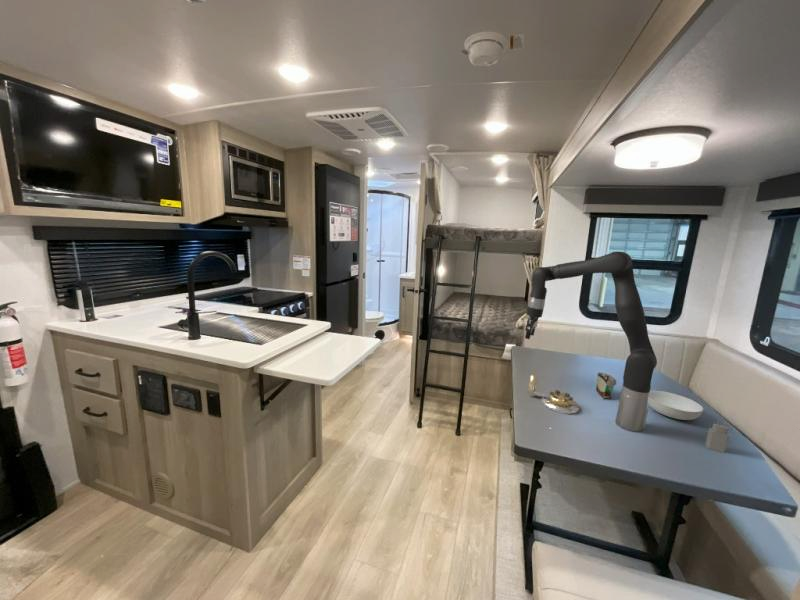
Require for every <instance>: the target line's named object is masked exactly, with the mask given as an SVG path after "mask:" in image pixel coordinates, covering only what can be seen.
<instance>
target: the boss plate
mask: <svg viewBox="0 0 800 600" xmlns="http://www.w3.org/2000/svg"><path fill="white" fill-rule="evenodd" d="M541 404H542V405H543V406H544V407H545V408H547V409H548V410H550V411H553V412H555V413H558V414H561V415H562V414H563V415H577V414H578V413H579V411H580V405H579V404H578V402H577V401H575V400H573V404H572V406H571V407H561V406H557V405H555V404H553V403H551V402H550V401H549V398H547V397H544V396H541Z"/></svg>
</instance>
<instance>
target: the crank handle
mask: <svg viewBox="0 0 800 600" xmlns="http://www.w3.org/2000/svg"><path fill="white" fill-rule="evenodd" d="M538 376H539V375H537V374H533V373H531V374H530V375H529V383H528V389H527V393H528V394H529V395H537V396H541V397H542V396H544V397H547V398H549V401H550V402H551V403H553V404H555V405H557V406H561V407H571V406H572V404H573V401H574V397H572V396H571V394H570V393H569V392H561V391H560V390H557V389H556V390H555V391H550V393H548V392H545V391H544V392H543V391H541V390H537V382H538Z"/></svg>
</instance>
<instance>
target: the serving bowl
mask: <svg viewBox="0 0 800 600" xmlns="http://www.w3.org/2000/svg"><path fill="white" fill-rule="evenodd" d="M647 406H649V407H650V408H651V409H652V410H654V411H656V412H657V413H659V414H661V415H664V416H665V417H668V418H671V419H677V420H683V421H690V420H695V419H698V418H699V417H701V416H702V414H703V412H704V407H703V406H702V404H699V403H698V402H696V401H694V400H693V399H690V398H688V397H685V396H683V395H679V394H676V393H673V392H668V391H662V390H650V393H649V397H648V402H647Z"/></svg>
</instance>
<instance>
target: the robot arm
mask: <svg viewBox="0 0 800 600" xmlns="http://www.w3.org/2000/svg"><path fill="white" fill-rule="evenodd" d="M591 274H592V275H593V274H611V276H612V280H613V285H614V289H615V290H614V307H615V310H616V311H615V312H616V315H617V319H618V322H619V325H620V327H621V329H622V330H623V332H624V334H625V336H626V337H627V342H628V346H629V353H630V354H629V355H628V356H627V358H626V362H625V365H624V370H623V375H622V377H623V379H622V386H621V387H622V388H621V392H620V398H619V402H618V406H617V411H616V416H615V424H616V425H617V426H618V427H620V428H622V429H624V430H627V431H630V432H641V431H644V430H645V426H646V421H647V419H648V418H647V417H648V413H649V408H648V407H647V406H648V403H647V402H648V397H649V393H650V391H651V385H652V377H653V375H654V370H655V368H656V367H657V365H658V360H657V356H656V354H655V351H654V349H653V346H652V343H651V340H650V337H649V331H648V326H647V321H646V315H645V310H644V308H643V307H644V306H643V303H642V299H641V296H640V293H639V291H638V288H637V284H636V280H635V274H634V267H633V259H632V257H631V256H630V254H628V253H627V252H625V251H612V252H609V253H607V254H604V255H601V256H597V257H594V258H591V259H585V260H578V261H571V262H564V263H560V264H559V263H558V264H555V265H552V266H543V267H542V266H539V267H536V268H534V270H533V272H532V275H531V291H530V295H529V296H530V297H529V300H528V302H527V303H528V304H527V307H526V313H525V314H526V315H527V316H529V318H528V319H527V320H526V321H527V322H526V326H525V329H524V330H525V336H524V337H525V339H527V340H530V339H531V336H535V331H536V328H537V327H538V321H539V318H542V317H543V313H544V307H545V304H546V297H547V292H548V290H547V288H546V282H548V281H554V280H564V279H569V278H576V277H580V276H586V275H591Z"/></svg>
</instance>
